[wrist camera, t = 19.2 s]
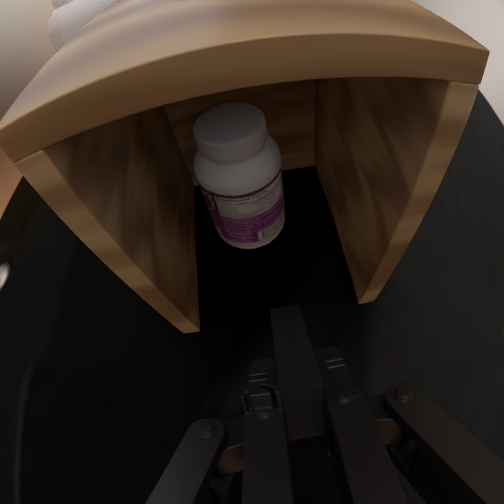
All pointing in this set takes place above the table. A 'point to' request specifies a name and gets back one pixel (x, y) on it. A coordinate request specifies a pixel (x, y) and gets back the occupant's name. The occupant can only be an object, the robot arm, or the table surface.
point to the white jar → (72, 18)
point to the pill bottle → (239, 174)
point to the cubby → (256, 93)
